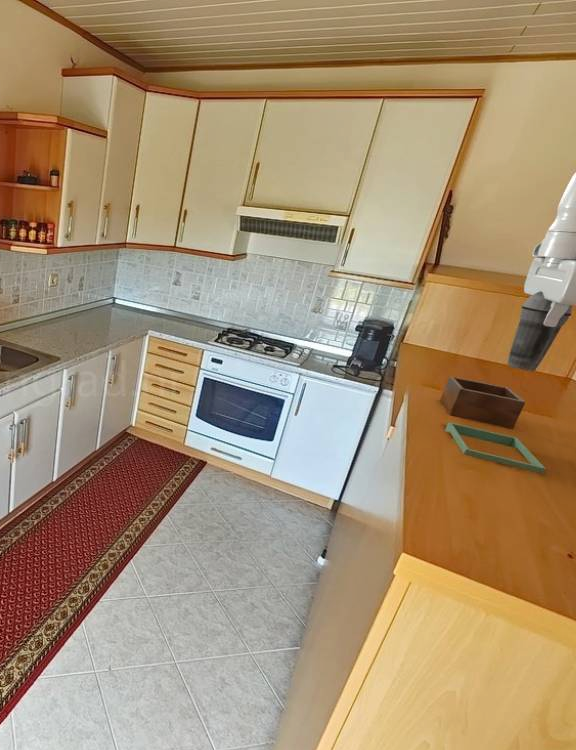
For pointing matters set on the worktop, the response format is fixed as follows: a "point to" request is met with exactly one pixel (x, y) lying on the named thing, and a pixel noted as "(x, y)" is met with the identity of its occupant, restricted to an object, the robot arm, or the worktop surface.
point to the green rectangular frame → (494, 438)
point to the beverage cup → (534, 333)
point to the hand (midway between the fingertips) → (540, 322)
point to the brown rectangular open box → (482, 402)
